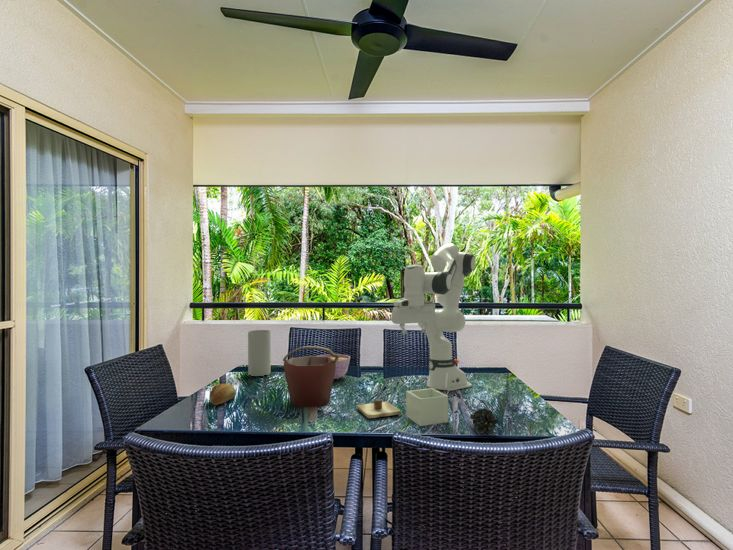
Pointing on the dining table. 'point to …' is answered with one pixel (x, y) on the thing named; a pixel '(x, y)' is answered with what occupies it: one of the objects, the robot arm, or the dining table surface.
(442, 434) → the dining table surface
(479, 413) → the pine cone
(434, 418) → the bin
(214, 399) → the bread roll
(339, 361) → the bowl of food
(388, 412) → the lid
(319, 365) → the bucket
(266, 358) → the cylinder vase
